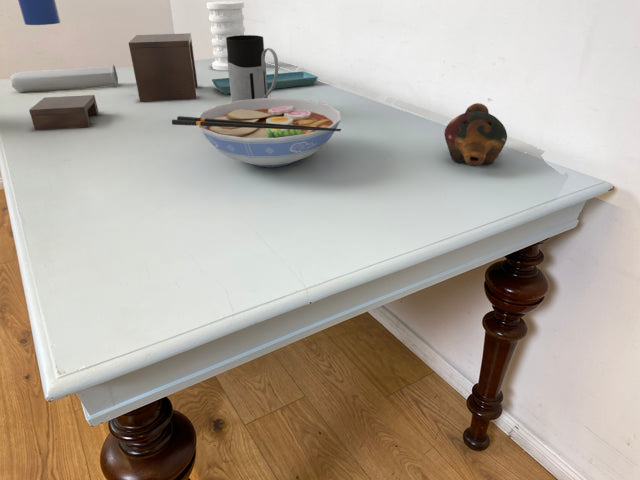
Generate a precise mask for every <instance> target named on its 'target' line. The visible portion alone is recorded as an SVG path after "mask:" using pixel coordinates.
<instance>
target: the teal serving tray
mask: <svg viewBox="0 0 640 480" xmlns="http://www.w3.org/2000/svg"><path fill="white" fill-rule="evenodd" d="M266 76H267V90H269V89H270V88H271V86H272V83H273V79H274V73H268V74H267V73H266ZM318 78H319V77H318V76H317V75H315V74H312V73H310V72H308V71H303V70H302V71H291V72H290V71H289V72H280V73H279V72H278V77H277V81H276V84H275V87H274V89H273V90H275V89H276V90H277V89H284V88H294V87H302V86H303V87H304V86H313V85H315V83H316V82H317V80H318ZM211 82H212V83H213V85H214V86H215V89H217V90H218V91H219V92H221V93H223V94H224V95H226V94H227V95H228V94H231V92H230V81H229V77H225V78H224V77H223V78H221V77H220V78H213V79H211Z"/></svg>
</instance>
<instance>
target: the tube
mask: <svg viewBox="0 0 640 480" xmlns="http://www.w3.org/2000/svg"><path fill="white" fill-rule="evenodd" d="M10 82H11V87H12V88H13V89H14V90H15V91H17V92H19V93H34V92H47V91H62V90H73V89H75V90H76V89H88V88H103V87H118V86H119V77H118V73H117V69H116V66H115V64H111V65H104V66H88V67H73V68H72V67H71V68H58V69H56V68H55V69H44V70H43V69H42V70H28V71H27V70H25V71H16V72H15V73H13V74H12V75H10Z"/></svg>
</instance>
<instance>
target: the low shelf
mask: <svg viewBox="0 0 640 480" xmlns="http://www.w3.org/2000/svg"><path fill="white" fill-rule="evenodd" d="M99 113H100V112H99V108H98V104H97V99H96V95H95V94H87V95H86V94H85V95H67V96H47V97H43V98H42V99H41V100H39V101H38V102H37V103H36V104H34V105H33V106H32V107H31V108H29V115H30V118H31V121H32V124H33V127H34V131H44V130H45V131H47V130H60V129H61V130H62V129H77V128H89V127H91V121H90V117H94V116H98V115H99Z"/></svg>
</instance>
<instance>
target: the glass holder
mask: <svg viewBox="0 0 640 480" xmlns="http://www.w3.org/2000/svg"><path fill="white" fill-rule="evenodd" d="M226 42H227V53H228V56H227V61H228V71H227V72H228V78H229V81H230V92H231V93H230V103H231V102H235V101H240V100H250V99H260V98H269V96H270V94H271V93H272V92H273V91H274V90H275V89H274V87H275V84H276V81H277V77H278V73H279V60H278V59H279V58H278V55H277V53H276V51H275V50H274V48H270V47H266V48H265V44H264V43H265V42H264V37H263V36H261V35H257V34H256V35H255V34H253V35H252V34H244V35H239V36H231V37H227V38H226ZM268 51H269V52H270V53H271V55H272V56H273V59H274V60H273V61H274V73H273V74H274V79H273V83H272V86H271V88H270V89H267V76H266V75H267V64H266V54H267V52H268Z"/></svg>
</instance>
